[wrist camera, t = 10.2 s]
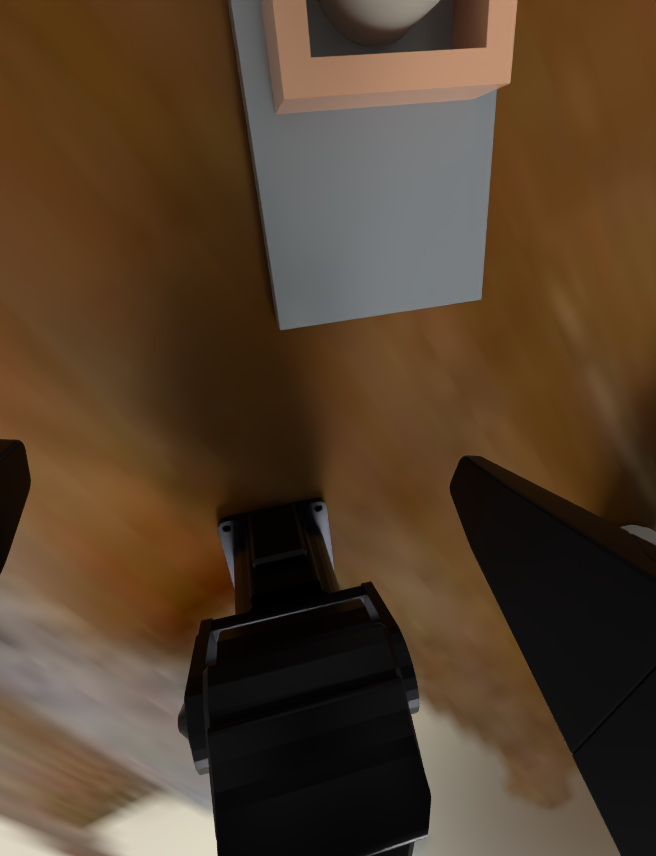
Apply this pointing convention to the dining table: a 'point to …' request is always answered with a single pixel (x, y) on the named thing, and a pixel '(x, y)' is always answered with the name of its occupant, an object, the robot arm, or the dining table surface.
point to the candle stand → (371, 155)
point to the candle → (375, 18)
